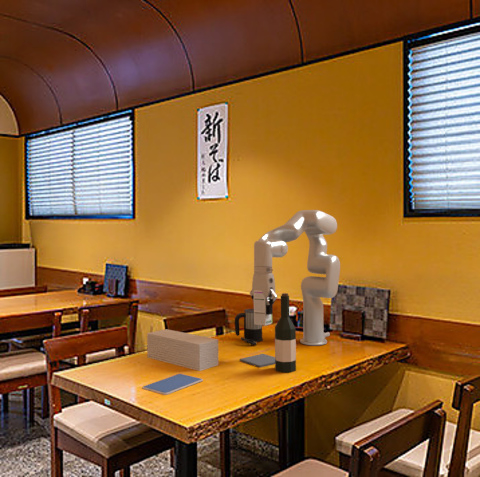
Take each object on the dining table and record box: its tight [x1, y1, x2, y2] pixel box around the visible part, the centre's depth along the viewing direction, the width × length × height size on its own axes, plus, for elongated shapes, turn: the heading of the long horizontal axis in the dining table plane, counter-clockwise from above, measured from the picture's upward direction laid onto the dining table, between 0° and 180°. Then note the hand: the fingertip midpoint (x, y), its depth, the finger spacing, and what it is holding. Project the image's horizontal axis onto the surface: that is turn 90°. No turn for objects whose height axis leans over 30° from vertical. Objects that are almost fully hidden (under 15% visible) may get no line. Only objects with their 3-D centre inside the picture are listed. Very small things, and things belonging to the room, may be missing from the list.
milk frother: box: [234, 308, 263, 346], centre depth 249 cm, size 14×16×15 cm
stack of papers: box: [146, 328, 219, 372], centre depth 217 cm, size 32×11×11 cm, turn 49°
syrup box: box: [253, 290, 273, 327], centre depth 216 cm, size 6×6×14 cm
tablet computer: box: [142, 373, 204, 396], centre depth 187 cm, size 19×13×1 cm, turn 142°
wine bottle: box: [274, 292, 297, 374], centre depth 203 cm, size 8×8×30 cm
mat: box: [239, 353, 275, 368], centre depth 216 cm, size 13×13×1 cm
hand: (263, 312), depth 216 cm, fingers closed on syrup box, 6 cm apart
